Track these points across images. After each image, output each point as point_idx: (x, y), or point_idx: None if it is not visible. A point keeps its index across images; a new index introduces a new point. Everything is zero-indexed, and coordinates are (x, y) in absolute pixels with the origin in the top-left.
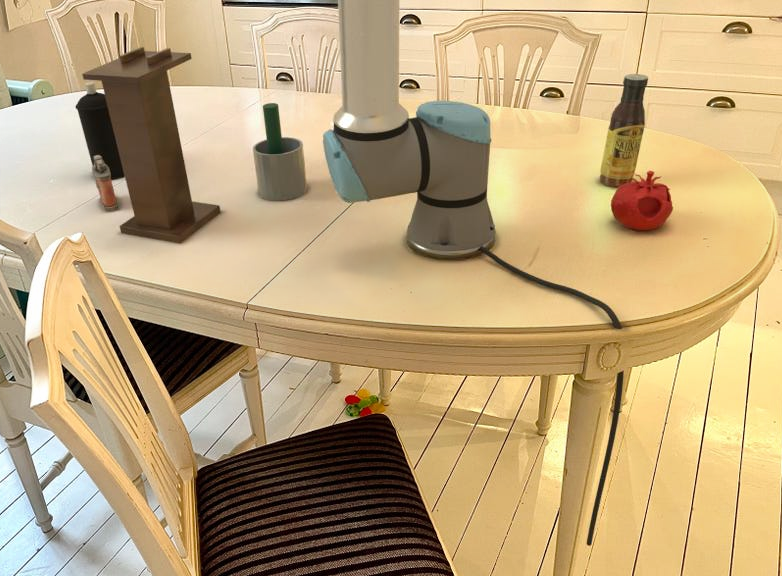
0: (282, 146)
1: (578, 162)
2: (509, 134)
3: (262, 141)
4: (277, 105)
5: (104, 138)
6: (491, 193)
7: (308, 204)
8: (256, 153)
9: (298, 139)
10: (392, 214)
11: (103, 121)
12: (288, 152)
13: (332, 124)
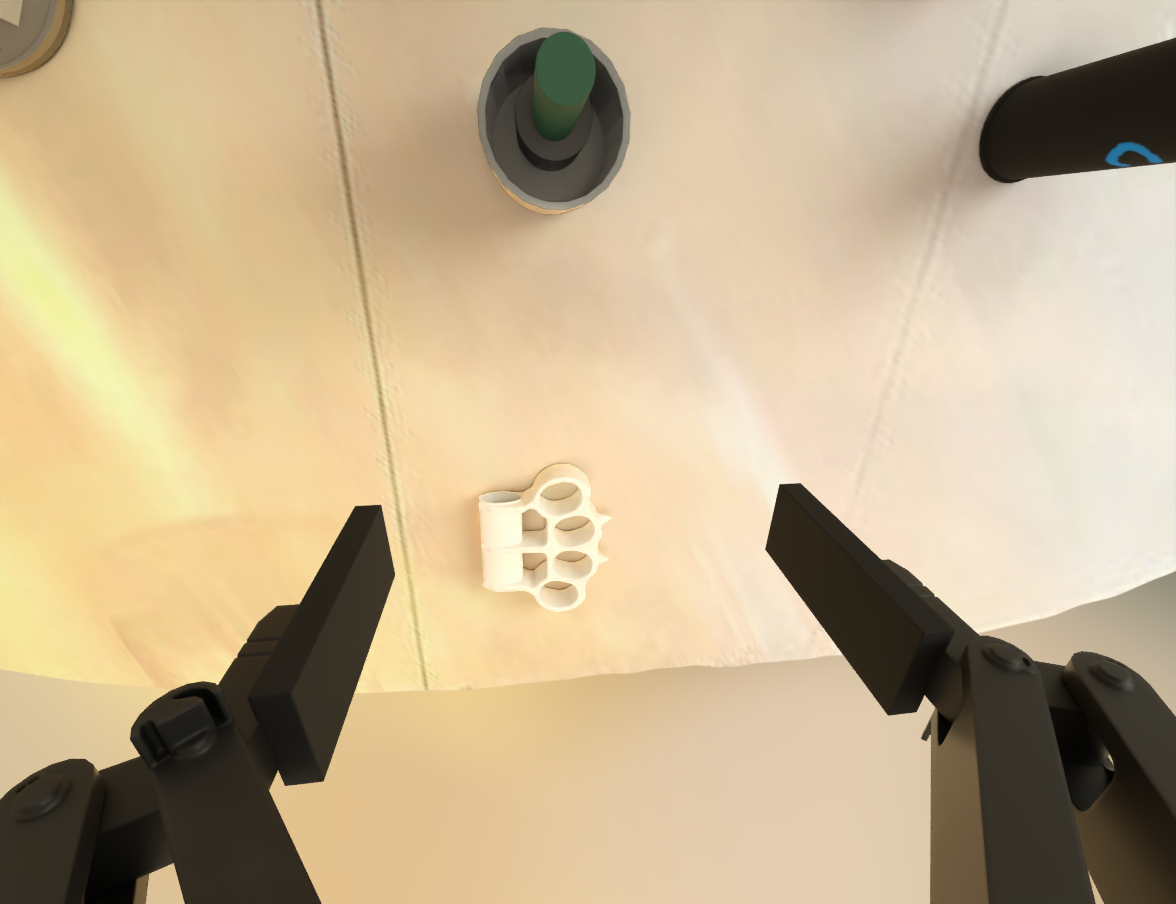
0: (534, 115)
1: (3, 494)
2: (237, 586)
3: (619, 152)
4: (537, 74)
5: (1121, 62)
6: (58, 278)
7: (440, 76)
8: (591, 41)
9: (520, 197)
10: (197, 74)
11: (1172, 56)
12: (492, 71)
13: (585, 487)
